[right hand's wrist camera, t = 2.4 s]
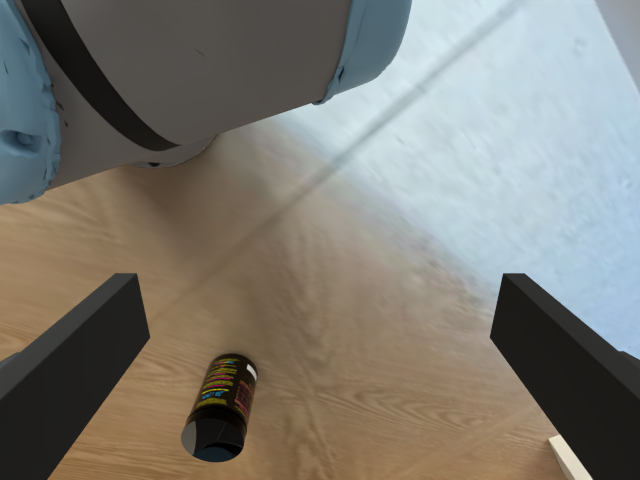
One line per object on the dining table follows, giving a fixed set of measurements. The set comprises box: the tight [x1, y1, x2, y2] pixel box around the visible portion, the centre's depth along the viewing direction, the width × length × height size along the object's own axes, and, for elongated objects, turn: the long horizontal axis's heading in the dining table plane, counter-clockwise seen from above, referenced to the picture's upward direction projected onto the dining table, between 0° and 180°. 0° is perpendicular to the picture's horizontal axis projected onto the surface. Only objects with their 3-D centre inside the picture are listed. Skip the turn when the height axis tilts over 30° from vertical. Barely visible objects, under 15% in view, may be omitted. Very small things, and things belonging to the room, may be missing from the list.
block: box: [548, 435, 593, 480], centre depth 50 cm, size 9×7×8 cm
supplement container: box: [181, 353, 258, 462], centre depth 42 cm, size 7×7×10 cm
